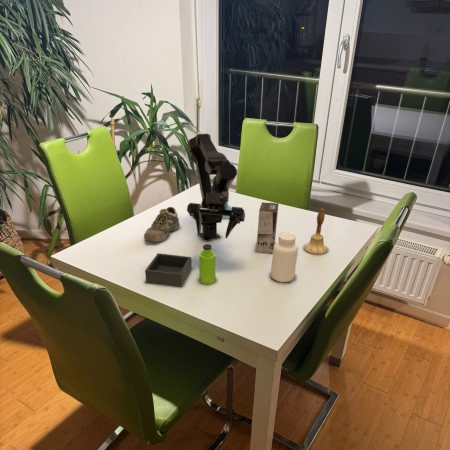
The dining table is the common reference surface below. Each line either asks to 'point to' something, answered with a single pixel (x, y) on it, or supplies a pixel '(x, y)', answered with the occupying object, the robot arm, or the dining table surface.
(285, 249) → the pill bottle
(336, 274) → the dining table surface
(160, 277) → the tote
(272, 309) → the dining table surface
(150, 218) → the dining table surface
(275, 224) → the coffee box
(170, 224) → the hiking shoe
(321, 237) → the hand bell
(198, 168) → the robot arm
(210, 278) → the green bottle
